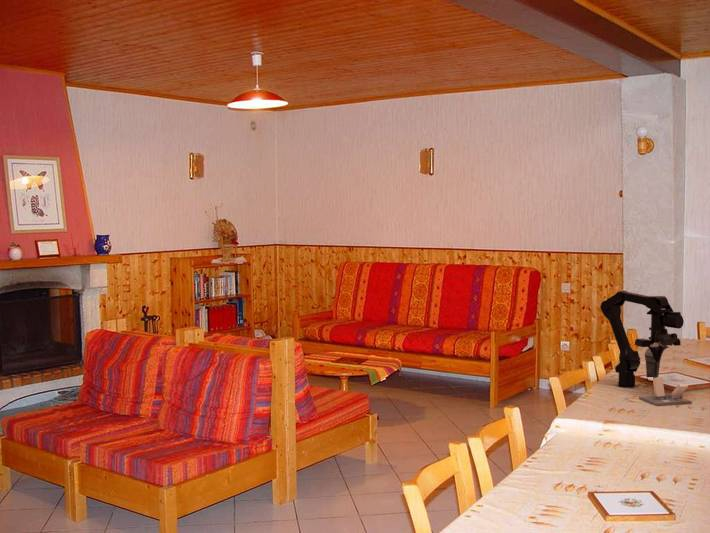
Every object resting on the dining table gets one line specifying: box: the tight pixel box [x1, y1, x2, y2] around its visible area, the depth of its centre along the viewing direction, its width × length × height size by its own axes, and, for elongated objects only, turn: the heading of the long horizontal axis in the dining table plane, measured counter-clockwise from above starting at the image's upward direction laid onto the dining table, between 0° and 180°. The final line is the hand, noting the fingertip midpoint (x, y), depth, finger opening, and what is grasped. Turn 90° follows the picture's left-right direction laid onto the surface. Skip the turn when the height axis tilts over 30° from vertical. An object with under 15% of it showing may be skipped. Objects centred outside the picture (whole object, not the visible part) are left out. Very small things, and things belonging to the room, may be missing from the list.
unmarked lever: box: [652, 376, 666, 398], centre depth 336 cm, size 1×4×8 cm, turn 104°
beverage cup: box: [644, 347, 662, 378], centre depth 374 cm, size 7×7×20 cm
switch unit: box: [638, 393, 693, 407], centre depth 336 cm, size 12×16×3 cm
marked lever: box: [670, 382, 689, 397], centre depth 334 cm, size 1×4×8 cm
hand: (657, 362), depth 351 cm, fingers closed
